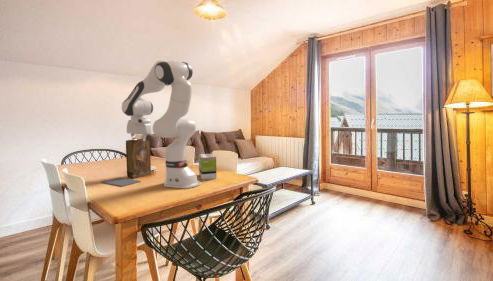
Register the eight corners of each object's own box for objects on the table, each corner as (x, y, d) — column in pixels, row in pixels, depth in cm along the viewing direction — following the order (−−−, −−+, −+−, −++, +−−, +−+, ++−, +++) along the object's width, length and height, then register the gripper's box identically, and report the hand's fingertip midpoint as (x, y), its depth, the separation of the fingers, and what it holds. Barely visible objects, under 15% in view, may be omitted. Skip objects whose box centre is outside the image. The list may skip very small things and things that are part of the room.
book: (146, 173, 185) (145, 138, 183) (152, 173, 183) (151, 138, 180) (127, 178, 170) (125, 140, 168) (133, 178, 168) (131, 140, 166)
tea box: (198, 174, 180) (198, 153, 178) (212, 174, 183) (212, 153, 181) (201, 179, 165) (201, 157, 164) (216, 178, 168) (216, 156, 167)
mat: (140, 181, 160) (140, 180, 160) (121, 186, 149) (121, 185, 149) (119, 178, 170) (119, 177, 170) (100, 182, 158) (100, 181, 158)
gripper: (123, 119, 175) (124, 140, 176) (144, 120, 165) (145, 141, 167) (131, 119, 181) (132, 139, 182) (152, 120, 171) (153, 141, 172)
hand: (138, 140), depth 174 cm, fingers open, 8 cm apart
